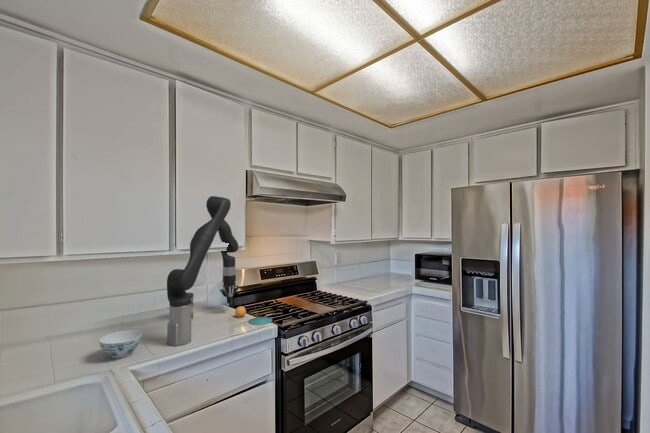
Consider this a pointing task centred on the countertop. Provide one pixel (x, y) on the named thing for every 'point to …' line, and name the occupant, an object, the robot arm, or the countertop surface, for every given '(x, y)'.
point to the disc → (260, 320)
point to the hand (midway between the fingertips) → (229, 303)
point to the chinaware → (120, 343)
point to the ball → (240, 311)
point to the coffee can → (191, 303)
